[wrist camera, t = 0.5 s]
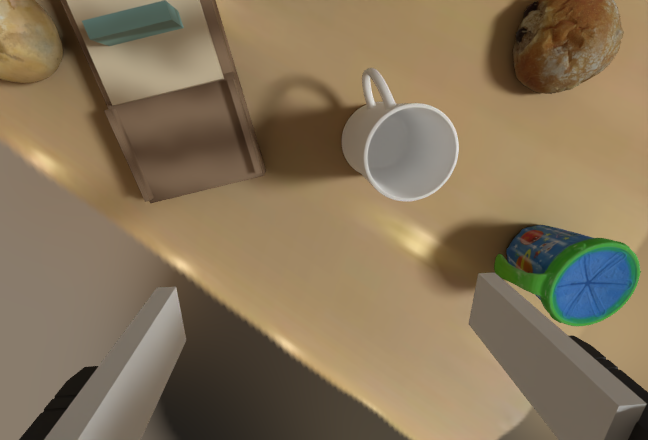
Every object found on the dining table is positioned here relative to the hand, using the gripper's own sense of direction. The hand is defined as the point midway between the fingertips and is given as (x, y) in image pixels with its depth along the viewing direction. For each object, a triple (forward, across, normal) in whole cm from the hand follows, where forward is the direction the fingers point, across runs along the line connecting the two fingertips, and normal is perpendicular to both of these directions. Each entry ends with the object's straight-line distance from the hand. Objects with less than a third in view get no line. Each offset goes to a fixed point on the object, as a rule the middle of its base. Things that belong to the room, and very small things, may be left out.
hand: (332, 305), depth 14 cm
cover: (+24, -15, +15) cm, 31 cm away
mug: (+26, +8, +6) cm, 28 cm away
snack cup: (+26, +31, -11) cm, 42 cm away
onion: (+27, -27, +14) cm, 41 cm away
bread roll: (+26, +27, +14) cm, 41 cm away
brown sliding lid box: (+26, -14, +10) cm, 31 cm away
